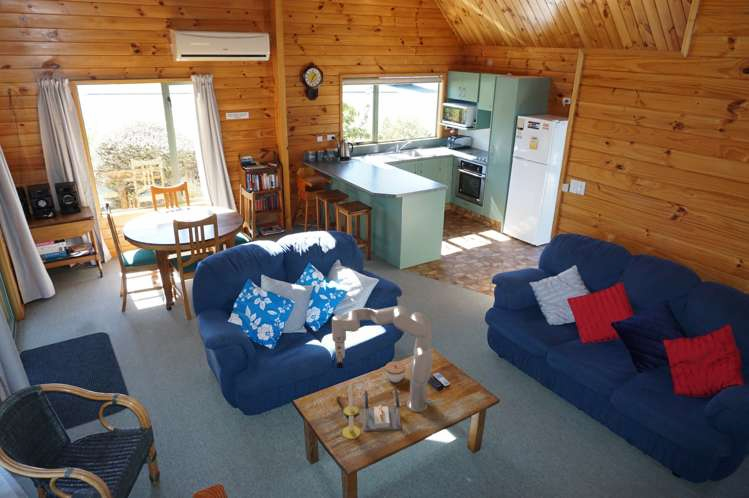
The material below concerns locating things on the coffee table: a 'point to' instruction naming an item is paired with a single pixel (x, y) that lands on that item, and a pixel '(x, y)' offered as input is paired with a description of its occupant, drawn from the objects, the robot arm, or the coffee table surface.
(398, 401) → the dark gray rod
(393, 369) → the lidded bowl
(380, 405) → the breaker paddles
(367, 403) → the dark grey rod
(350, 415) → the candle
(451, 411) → the coffee table surface
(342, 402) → the sunglasses case
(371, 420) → the board
